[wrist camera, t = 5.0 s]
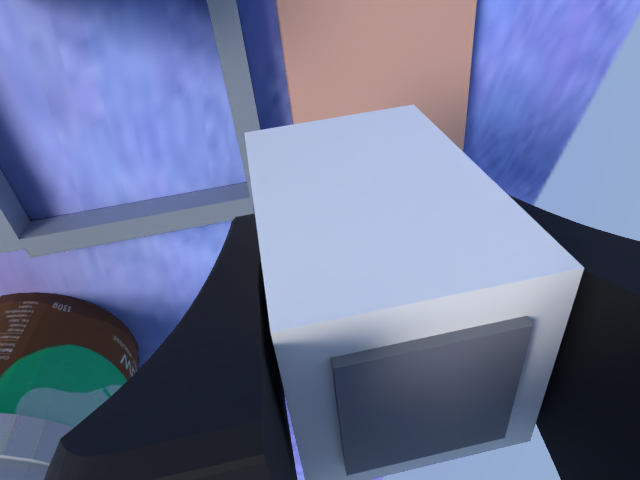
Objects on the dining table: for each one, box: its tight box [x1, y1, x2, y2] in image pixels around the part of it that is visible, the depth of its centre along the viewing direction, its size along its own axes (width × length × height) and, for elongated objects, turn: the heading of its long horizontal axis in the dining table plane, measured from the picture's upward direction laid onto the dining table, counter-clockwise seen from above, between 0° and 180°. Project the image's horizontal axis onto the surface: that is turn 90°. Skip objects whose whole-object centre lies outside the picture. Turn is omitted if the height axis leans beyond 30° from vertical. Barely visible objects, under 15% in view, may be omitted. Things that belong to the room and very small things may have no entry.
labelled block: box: [244, 104, 584, 480], centre depth 10 cm, size 4×4×7 cm
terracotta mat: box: [275, 0, 477, 151], centre depth 20 cm, size 8×10×1 cm
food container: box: [0, 293, 139, 480], centre depth 22 cm, size 12×6×10 cm, turn 6°
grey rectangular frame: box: [0, 0, 260, 258], centre depth 16 cm, size 12×17×2 cm
